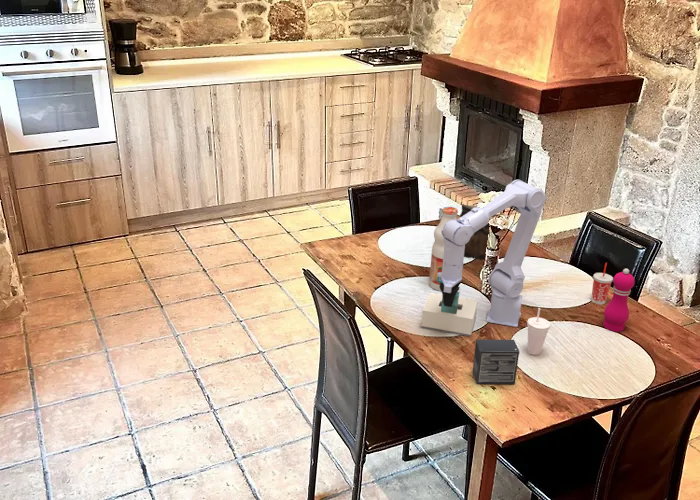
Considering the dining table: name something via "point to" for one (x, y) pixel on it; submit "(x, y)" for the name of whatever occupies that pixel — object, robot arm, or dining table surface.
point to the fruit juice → (439, 247)
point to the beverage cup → (601, 287)
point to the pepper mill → (619, 302)
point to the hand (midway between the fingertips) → (448, 303)
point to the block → (453, 308)
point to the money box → (449, 316)
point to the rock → (476, 239)
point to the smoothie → (537, 333)
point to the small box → (495, 361)
